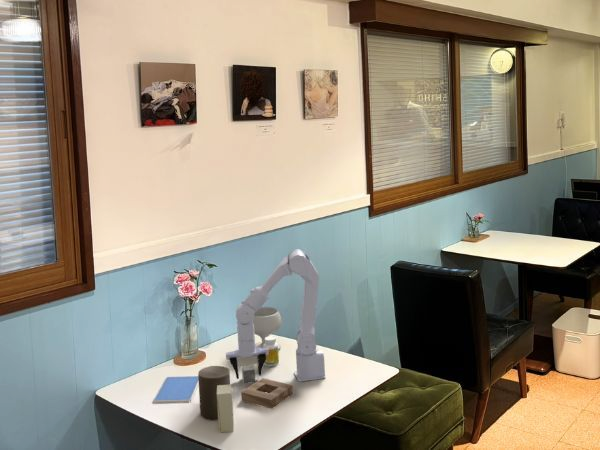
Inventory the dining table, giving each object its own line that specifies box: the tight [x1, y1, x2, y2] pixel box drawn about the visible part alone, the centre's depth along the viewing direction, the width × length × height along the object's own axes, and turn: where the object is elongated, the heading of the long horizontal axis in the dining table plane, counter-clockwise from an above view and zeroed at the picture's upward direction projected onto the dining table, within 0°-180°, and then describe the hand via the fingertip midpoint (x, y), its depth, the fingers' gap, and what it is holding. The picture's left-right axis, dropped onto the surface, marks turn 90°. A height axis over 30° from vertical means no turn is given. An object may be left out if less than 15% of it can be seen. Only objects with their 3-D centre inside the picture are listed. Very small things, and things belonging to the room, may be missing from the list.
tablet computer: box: [152, 375, 199, 404], centre depth 221 cm, size 19×13×1 cm, turn 178°
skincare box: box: [217, 383, 235, 433], centre depth 193 cm, size 6×4×12 cm
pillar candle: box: [197, 365, 231, 421], centre depth 202 cm, size 10×10×15 cm
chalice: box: [253, 306, 282, 351], centre depth 253 cm, size 14×14×15 cm
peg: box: [241, 364, 257, 384], centre depth 226 cm, size 4×4×5 cm
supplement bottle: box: [263, 335, 280, 367], centre depth 239 cm, size 5×5×10 cm
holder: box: [240, 377, 294, 410], centre depth 212 cm, size 12×12×3 cm
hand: (248, 376), depth 226 cm, fingers open, 7 cm apart
